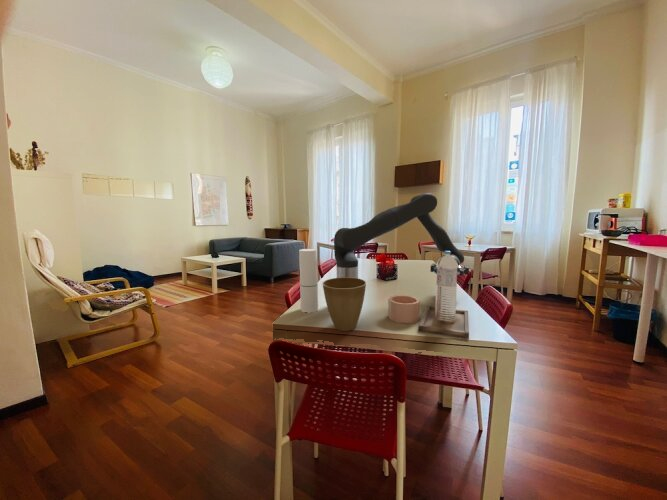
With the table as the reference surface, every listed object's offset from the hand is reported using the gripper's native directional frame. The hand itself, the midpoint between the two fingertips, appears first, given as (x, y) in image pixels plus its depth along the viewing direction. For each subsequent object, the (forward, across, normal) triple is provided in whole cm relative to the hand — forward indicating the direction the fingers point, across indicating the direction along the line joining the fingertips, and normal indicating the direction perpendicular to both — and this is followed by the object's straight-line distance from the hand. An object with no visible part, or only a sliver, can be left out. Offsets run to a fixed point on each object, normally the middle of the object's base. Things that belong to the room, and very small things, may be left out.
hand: (448, 272), depth 105 cm
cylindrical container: (+18, -52, +16) cm, 57 cm away
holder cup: (+11, -15, +16) cm, 25 cm away
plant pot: (+28, -32, +16) cm, 45 cm away
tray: (+10, 0, +16) cm, 19 cm away
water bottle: (+10, 0, +16) cm, 19 cm away
